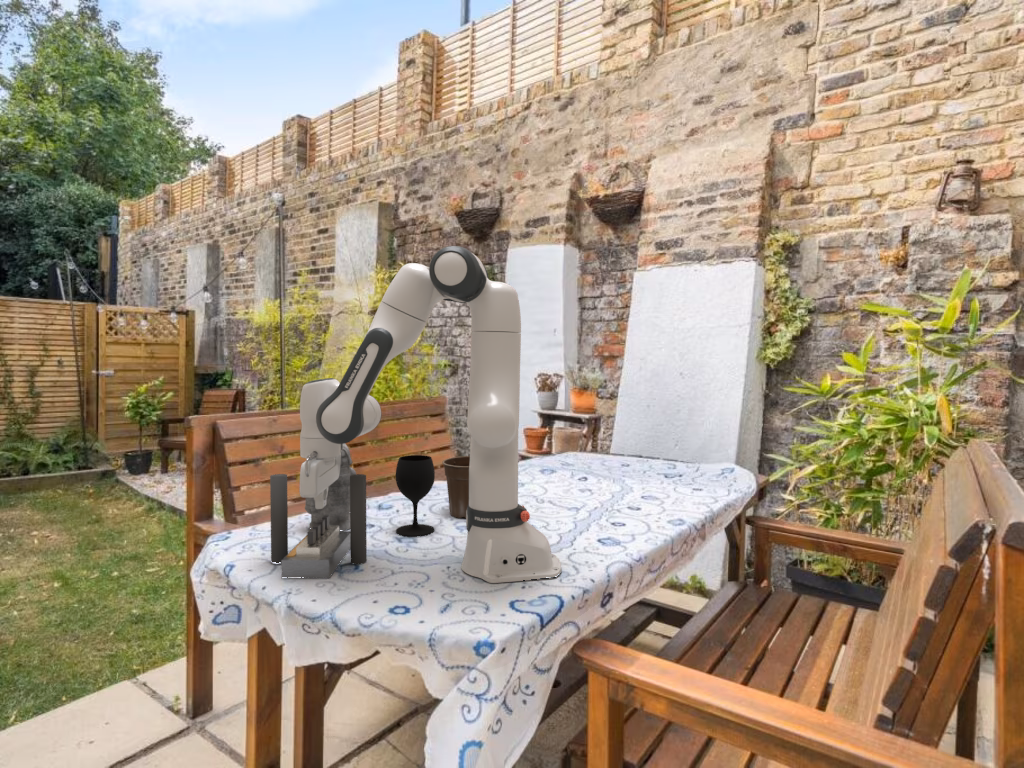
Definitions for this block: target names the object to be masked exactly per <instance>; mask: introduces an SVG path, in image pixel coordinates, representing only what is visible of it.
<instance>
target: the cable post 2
mask: <svg viewBox="0 0 1024 768" xmlns="http://www.w3.org/2000/svg"><path fill="white" fill-rule="evenodd" d="M349 531H350V550H349V551H350V555H349V556H350V558H349V559H350V564H352V563H354V564H353V565H362V564H361V563H363V564H366V563H367V558H368V557H367V548H368V547H367V545H368V544H367V543H368V541H367V474H363V473H361V474H360V473H358V474H357V473H356V474H355V475H351V476H350V529H349Z"/></svg>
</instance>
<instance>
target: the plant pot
mask: <svg viewBox="0 0 1024 768" xmlns="http://www.w3.org/2000/svg"><path fill="white" fill-rule="evenodd" d="M441 464H443V469H444V475H445V477H446V486H447V487H446V488H447V496H448V497H447V498H448V508H449V509H448V510H449V515H450V516H451V517H453V516H454V518H456V519H462V518H465V519H466V510H467V505H468V504H469V464H470V455H469V456H468V455H466V456H452V457H449V458H446V459H444V460H443V461H442V463H441Z"/></svg>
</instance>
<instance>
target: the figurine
mask: <svg viewBox="0 0 1024 768" xmlns="http://www.w3.org/2000/svg"><path fill="white" fill-rule="evenodd" d="M352 464H353V460H352V458H351V451H350V449H349V447H348V445H347V443H344V444H343V450H342V451H341V464H340V474H339V478H338V479H337V480H336V481H335V482H333V483H332V484H331V485H330V486H329V487H328V494H327V502H326V506H324V507H323V508H322V509H316V508H315V500H314V497H313V498H305V503H304V504H305V505H304V510H305V511H306V513H307V514H309V515H310V517H311V519H310V522H309V529H310V528H311V529H312V527H313V526H314V525H315V524H317V522H318V521H319V520H322V517H323V516H324V515H329V526H339V531H340V530H344V531H347V530H346V529H348V530H350V476H351V475H355V474H357V472H356V470H355V469H354V468H353V467H351V465H352Z"/></svg>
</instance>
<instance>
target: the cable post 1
mask: <svg viewBox="0 0 1024 768" xmlns="http://www.w3.org/2000/svg"><path fill="white" fill-rule="evenodd" d="M269 477H270V478H269V480H270V481H269V482H270V483H269V484H270V485H269V486H270V487H269V489H270V490H269V492H270V498H269V499H270V561H272V562H276V563H279V562H281V560H282V559H283V558H284V557H285V556H286V555H287V554H288V553H289V540H288V539H289V531H288V530H289V528H288V527H289V525H288V523H289V520H288V515H289V514H288V509H289V508H288V505H289V504H288V474H286V473H285V474H284V473H276V474H271V475H269Z"/></svg>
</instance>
